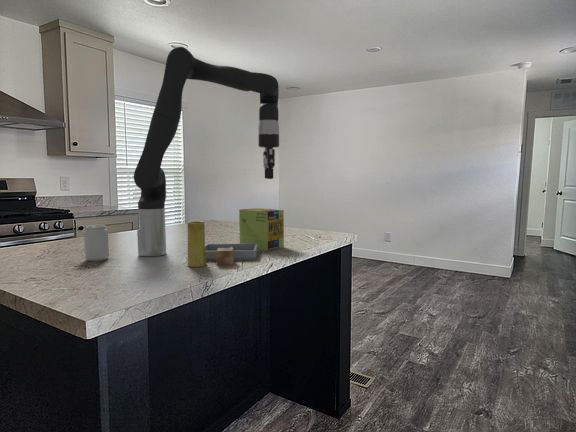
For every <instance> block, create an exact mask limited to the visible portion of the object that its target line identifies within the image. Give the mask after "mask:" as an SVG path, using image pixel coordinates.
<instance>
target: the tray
mask: <svg viewBox="0 0 576 432" xmlns="http://www.w3.org/2000/svg"><path fill="white" fill-rule="evenodd" d="M218 248H234V261H256V260H257V257H258V253H259V250H258V243H247V244H240V243H205V251H206V262H209V261H210V262H212V261H214V262H217V256H216V251H217V250H218Z"/></svg>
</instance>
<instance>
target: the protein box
mask: <svg viewBox="0 0 576 432" xmlns="http://www.w3.org/2000/svg"><path fill="white" fill-rule="evenodd" d="M284 213H285V211H284V209H277V208H260V207H259V208H243V209H241V208H240V209H239V213H238V217H239V218H238V219H239V220H238V222H239V227H238V229H239V244H247V243H258V251H263V252H270V251H274V250H279V249H282V248H283V249H284V248H285V230H284V227H285V225H284V224H285V222H284V219H285V218H284V216H285V215H284Z"/></svg>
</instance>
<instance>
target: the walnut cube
mask: <svg viewBox="0 0 576 432" xmlns="http://www.w3.org/2000/svg"><path fill="white" fill-rule="evenodd" d="M216 256H217V261H216V266H217V267H226V266H227V267H228V266H232V267H233V265H234V263H235V260H234V248H218V250H217V251H216Z"/></svg>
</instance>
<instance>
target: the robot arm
mask: <svg viewBox="0 0 576 432" xmlns="http://www.w3.org/2000/svg"><path fill="white" fill-rule="evenodd" d="M165 62H166V63H165V67H164V73H163V79H162V83H161V87H160V91H159V94H158V97H157V99H156V103H155V107H154V109H153V113H152V116H151V118H150V119H151V120H150V123H149V128H148V130H147V131H148V132H147V135H146V139H145V143H144V146H143V150H142V153H141V155H140V158H139V160H138V161H137V165H136V167H135V170H134V171H133V172H134V173H133V181H134V184H135V185H136V187H137V188H138V189H140V190H141V191H140V198H139V200H138V202H137V211H138V212H137V213H138V229H137V230H136V232H137V233H136V236H137V254H138V255H137V256H138V257H139V256H142V257H159V256H163V255H166V254H167V235H166V234H167V233H166V213H165V212H166V209H165V204H166V203H165V202H166V200H167V181H166V180H167V178H166V174H165V171H164V169H162V163H163V158H164V156H165V153H166V151H167V150H168V148H169V146H170V145H171V143H172V141H173V140H174V138H175V135H176V134H177V131H178V127H179V124H180V120H181V115H182V105H183V104H182V103H183V102H182V101H183V90H184V87H185V84H186V82H187V80H193V81H195V80H196V81H202V82H210V83H214V84H217V85H220V86H225V87H227V88H231V89H233V90H234V89H235V90H238V91H242V92H254V93H259V105H260V106H259V109H258V131H257V132H258V138H257V139H258V147H259V148H263V149H264V151H263V152H262V157H263V160H262V163H263V168H264V179H268V180H273V179H274V168H275V165H276V164H275V163H276V161H275V160H276V159H275V158H276V157H275V156H276V154H275V153H276V151H275V149H274V148H279V147H280V125H279V123H280V122H279V119H280V118H279V95H280V94H279V91H280V89H279V86H280V85H279V82H278V79H277V77H274V75H271V74H269V73H264V72H254V71H252V72H251V71H249V70H246V69H241V68H238V67H234V66H228V65H217V64H212V63H208V62H205V61H202V60H201V59H199V58H196V57H195V56H194V55H193V54H192V52H191V51H190V50H189V49H187V48H185V47H183V46H176V47H174V48H172V49H171V50H170V51H169V53H168V54H167V57H166V61H165Z"/></svg>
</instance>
